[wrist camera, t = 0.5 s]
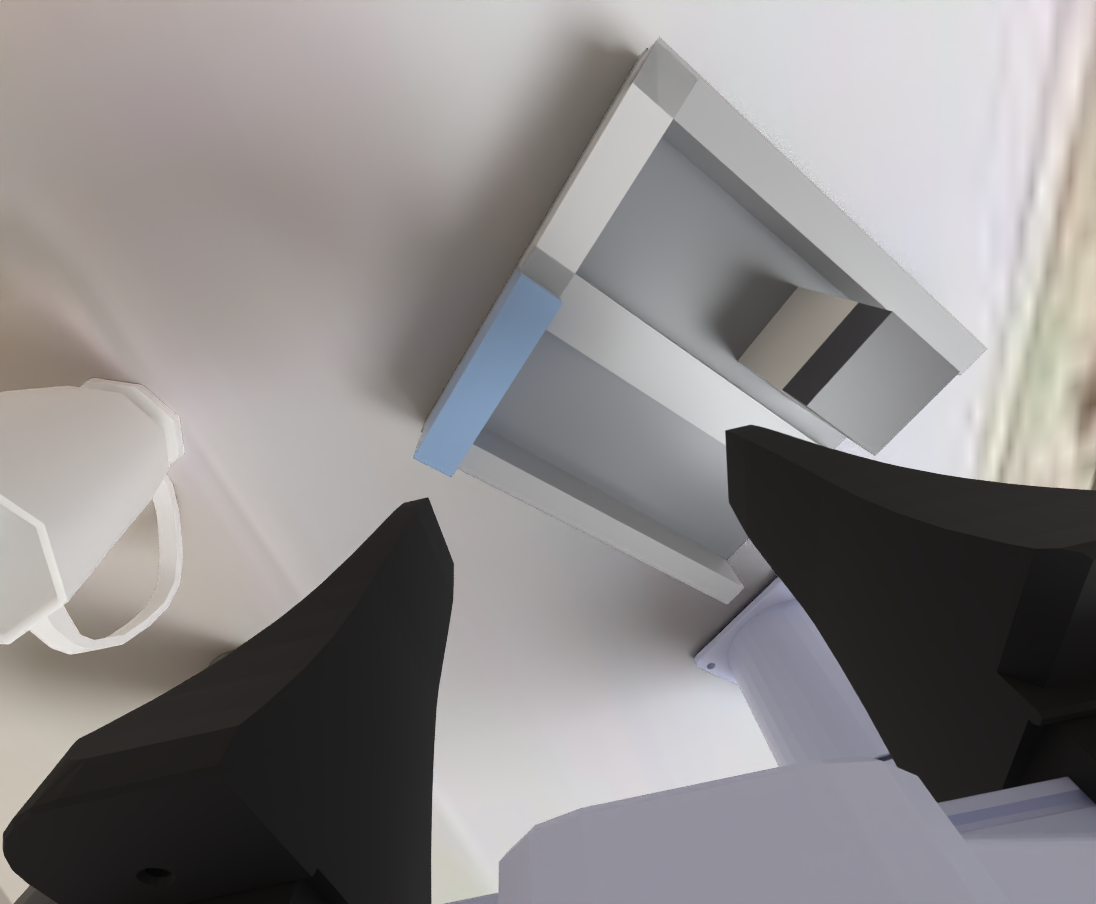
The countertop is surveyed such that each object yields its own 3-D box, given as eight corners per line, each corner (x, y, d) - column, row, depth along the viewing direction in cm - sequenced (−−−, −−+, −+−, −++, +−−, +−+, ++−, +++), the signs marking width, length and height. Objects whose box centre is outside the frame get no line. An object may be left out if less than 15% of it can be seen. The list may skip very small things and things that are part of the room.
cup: (163, 325, 18) (-63, 400, 11) (281, 536, 23) (177, 688, 15) (-18, 364, 18) (-358, 466, 11) (136, 566, 23) (-33, 732, 16)
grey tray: (930, 324, 21) (1020, 349, 17) (700, 567, 26) (732, 625, 22) (638, 56, 16) (679, 11, 12) (424, 422, 21) (407, 466, 17)
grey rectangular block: (855, 334, 19) (959, 371, 15) (794, 402, 21) (875, 455, 16) (798, 286, 18) (892, 311, 14) (737, 361, 19) (806, 406, 15)
